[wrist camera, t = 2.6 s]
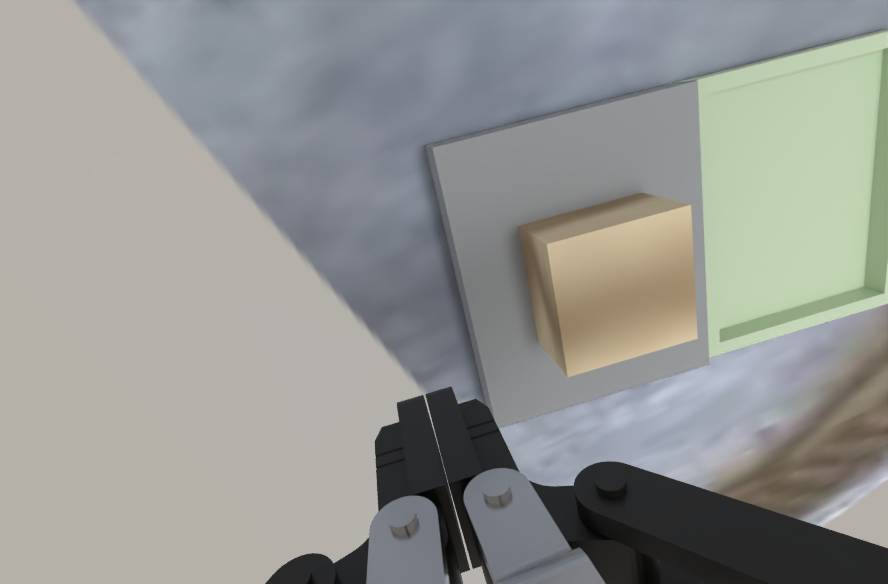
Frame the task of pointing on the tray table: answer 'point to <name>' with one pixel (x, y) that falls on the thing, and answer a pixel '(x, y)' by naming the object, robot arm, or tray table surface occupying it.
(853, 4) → the tray table surface
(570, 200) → the plate
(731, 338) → the box
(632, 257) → the tan square block
